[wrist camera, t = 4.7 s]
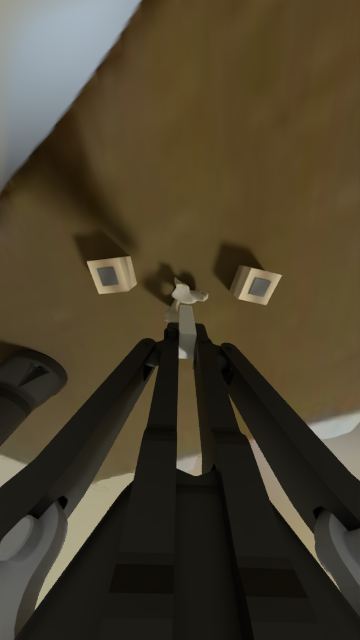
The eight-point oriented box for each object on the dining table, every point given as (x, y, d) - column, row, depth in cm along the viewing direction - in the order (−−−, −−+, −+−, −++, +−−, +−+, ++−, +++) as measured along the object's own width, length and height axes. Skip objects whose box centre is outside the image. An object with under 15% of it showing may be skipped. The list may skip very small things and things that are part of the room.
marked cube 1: (229, 290, 28) (238, 299, 23) (239, 264, 25) (252, 268, 21) (252, 296, 28) (266, 305, 23) (264, 270, 26) (282, 275, 21)
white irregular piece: (196, 260, 23) (213, 305, 18) (205, 284, 29) (221, 325, 23) (153, 281, 26) (157, 327, 20) (169, 300, 31) (176, 341, 26)
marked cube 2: (112, 286, 27) (98, 294, 23) (103, 259, 25) (85, 261, 20) (137, 284, 27) (127, 291, 22) (130, 256, 25) (118, 257, 20)
